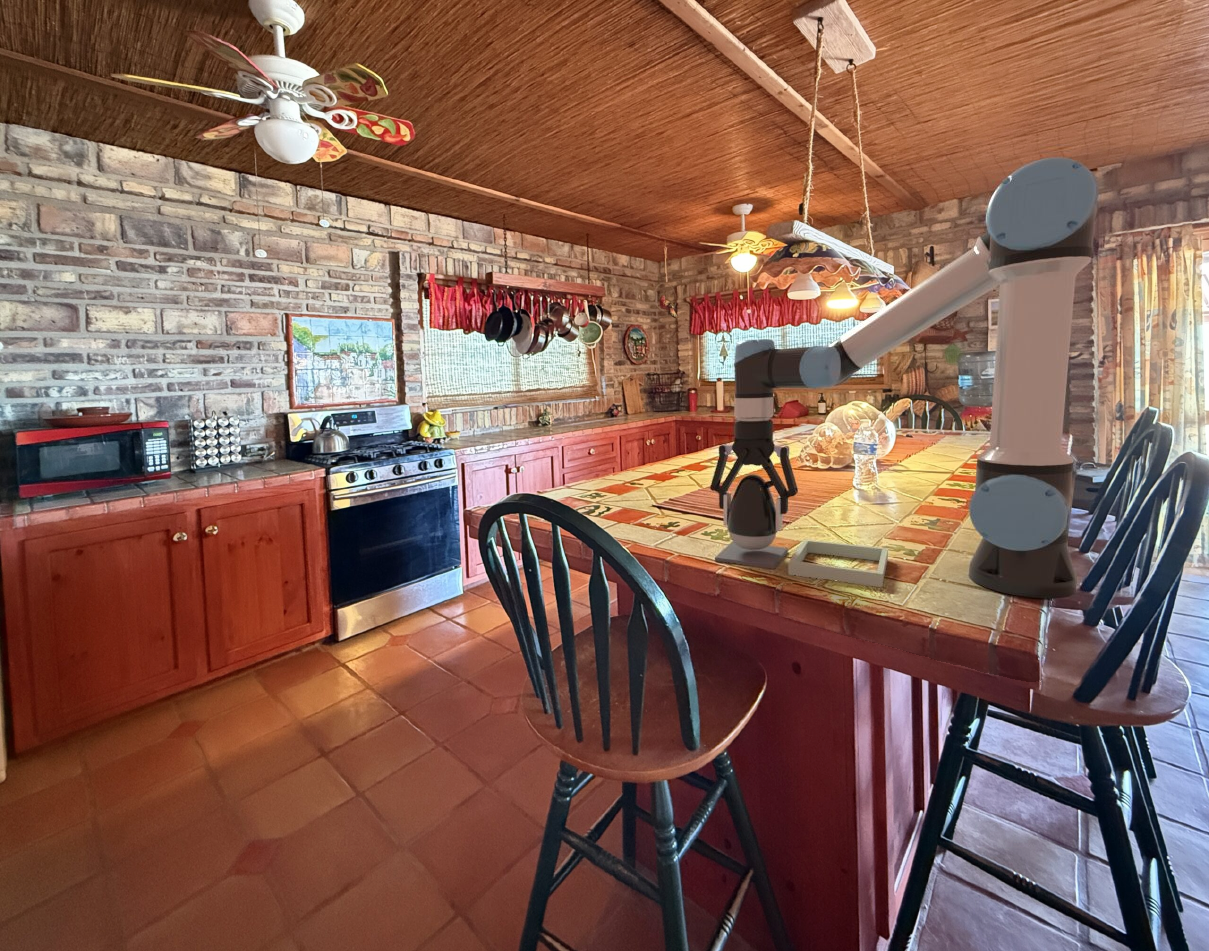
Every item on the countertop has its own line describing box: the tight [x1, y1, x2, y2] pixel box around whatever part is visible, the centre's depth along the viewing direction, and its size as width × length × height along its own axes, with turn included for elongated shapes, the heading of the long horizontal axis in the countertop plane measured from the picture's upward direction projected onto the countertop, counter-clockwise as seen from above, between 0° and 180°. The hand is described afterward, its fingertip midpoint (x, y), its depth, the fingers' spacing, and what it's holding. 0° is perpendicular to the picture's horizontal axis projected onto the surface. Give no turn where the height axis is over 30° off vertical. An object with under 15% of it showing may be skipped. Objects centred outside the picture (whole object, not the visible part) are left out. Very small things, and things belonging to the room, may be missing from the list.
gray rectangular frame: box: [787, 539, 889, 589], centre depth 109 cm, size 16×16×2 cm
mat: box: [714, 541, 788, 570], centre depth 117 cm, size 12×12×1 cm
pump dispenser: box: [726, 474, 779, 550], centre depth 116 cm, size 10×10×15 cm
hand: (752, 526), depth 116 cm, fingers closed on pump dispenser, 10 cm apart
